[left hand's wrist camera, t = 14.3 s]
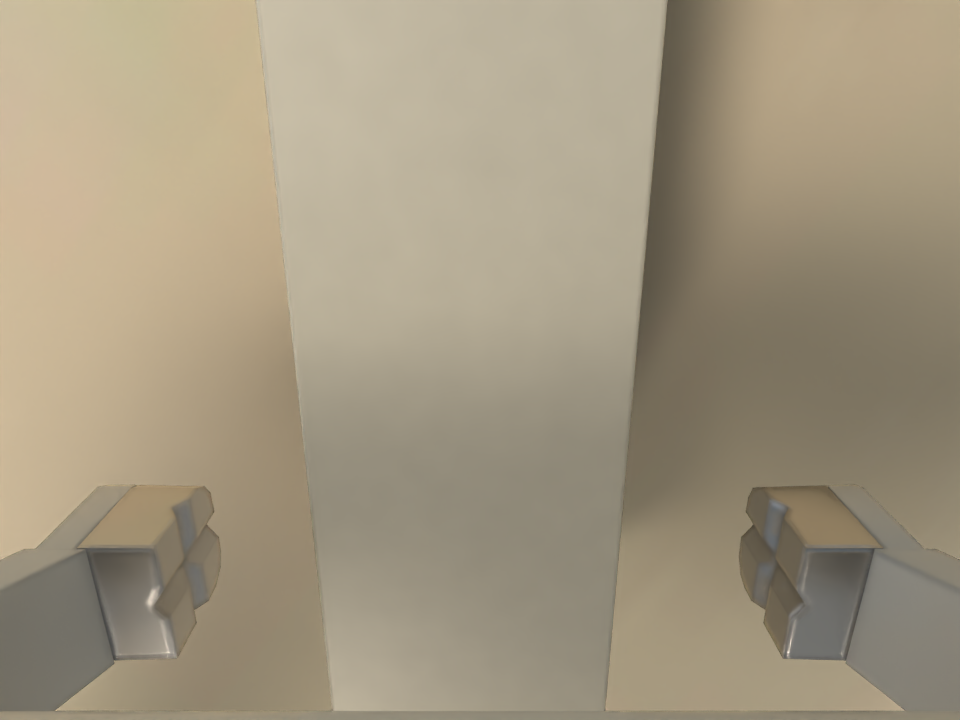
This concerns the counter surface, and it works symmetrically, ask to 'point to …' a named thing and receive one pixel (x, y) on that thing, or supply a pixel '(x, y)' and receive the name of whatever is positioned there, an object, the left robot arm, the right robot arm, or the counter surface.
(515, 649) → the post
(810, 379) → the counter surface
